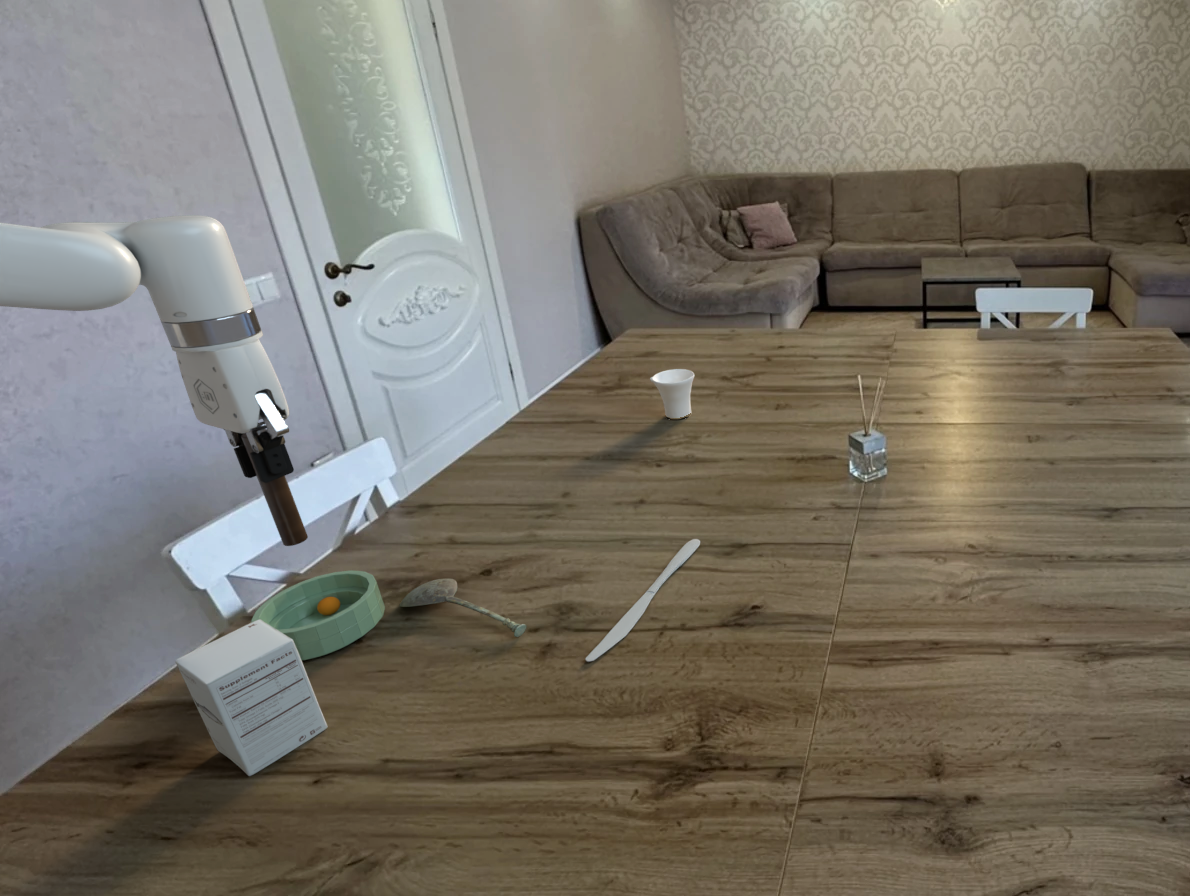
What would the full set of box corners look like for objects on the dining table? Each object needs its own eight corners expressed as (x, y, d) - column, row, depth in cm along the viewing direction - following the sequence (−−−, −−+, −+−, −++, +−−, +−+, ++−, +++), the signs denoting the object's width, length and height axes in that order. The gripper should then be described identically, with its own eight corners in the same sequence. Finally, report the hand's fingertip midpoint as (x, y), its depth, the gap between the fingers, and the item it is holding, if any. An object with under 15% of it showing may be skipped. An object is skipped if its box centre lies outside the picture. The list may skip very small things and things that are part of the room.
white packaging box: (215, 752, 77) (171, 659, 72) (297, 704, 83) (261, 615, 78) (247, 780, 73) (203, 684, 69) (330, 728, 80) (294, 637, 75)
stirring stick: (281, 548, 88) (237, 439, 83) (286, 538, 90) (244, 431, 85) (305, 542, 89) (264, 434, 84) (310, 533, 91) (270, 427, 86)
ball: (318, 621, 95) (312, 606, 94) (322, 610, 97) (317, 596, 96) (340, 615, 96) (335, 600, 96) (344, 605, 98) (338, 590, 98)
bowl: (251, 679, 86) (237, 646, 85) (279, 618, 97) (267, 587, 95) (377, 644, 92) (366, 612, 90) (391, 589, 102) (382, 560, 101)
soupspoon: (439, 584, 105) (393, 613, 99) (432, 565, 103) (384, 593, 98) (543, 620, 96) (499, 654, 90) (537, 600, 95) (491, 633, 89)
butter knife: (707, 540, 113) (690, 536, 113) (600, 663, 88) (578, 658, 89) (707, 543, 113) (690, 539, 113) (600, 667, 88) (579, 662, 89)
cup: (656, 411, 162) (650, 370, 159) (699, 406, 165) (694, 365, 161) (655, 427, 154) (648, 384, 151) (699, 421, 157) (694, 379, 153)
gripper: (130, 331, 79) (193, 477, 86) (214, 347, 73) (274, 502, 80) (214, 313, 86) (266, 450, 92) (297, 327, 80) (346, 472, 87)
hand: (269, 473), depth 86 cm, fingers closed on stirring stick, 2 cm apart
